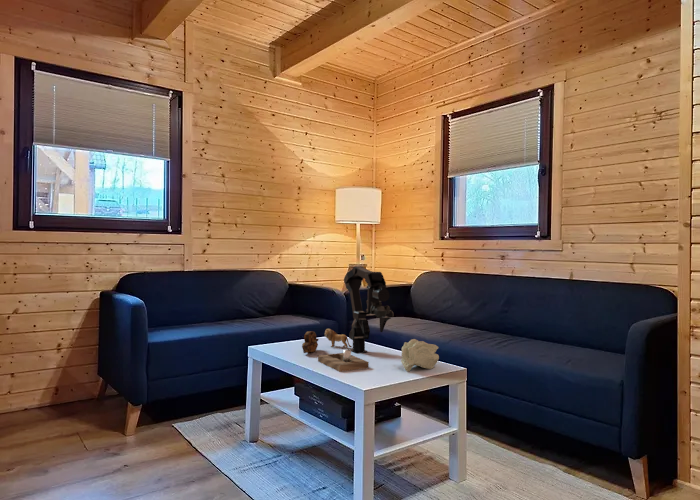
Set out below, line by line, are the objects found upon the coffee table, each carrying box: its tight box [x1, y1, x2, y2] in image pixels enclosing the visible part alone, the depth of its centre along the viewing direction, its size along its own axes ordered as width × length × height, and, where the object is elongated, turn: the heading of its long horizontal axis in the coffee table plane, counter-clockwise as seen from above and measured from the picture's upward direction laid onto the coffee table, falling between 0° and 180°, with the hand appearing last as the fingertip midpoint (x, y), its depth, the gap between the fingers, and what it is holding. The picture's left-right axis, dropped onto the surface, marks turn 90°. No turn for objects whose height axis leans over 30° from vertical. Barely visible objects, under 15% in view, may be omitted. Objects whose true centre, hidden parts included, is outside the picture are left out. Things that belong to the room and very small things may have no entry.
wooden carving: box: [301, 330, 319, 354], centre depth 233 cm, size 16×5×10 cm, turn 168°
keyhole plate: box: [317, 352, 370, 373], centre depth 210 cm, size 20×14×3 cm
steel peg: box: [342, 349, 352, 362], centre depth 207 cm, size 5×5×7 cm
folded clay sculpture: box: [400, 338, 440, 372], centre depth 206 cm, size 18×13×16 cm
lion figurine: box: [324, 328, 353, 350], centre depth 247 cm, size 15×5×9 cm, turn 74°
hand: (372, 332), depth 223 cm, fingers open, 9 cm apart
